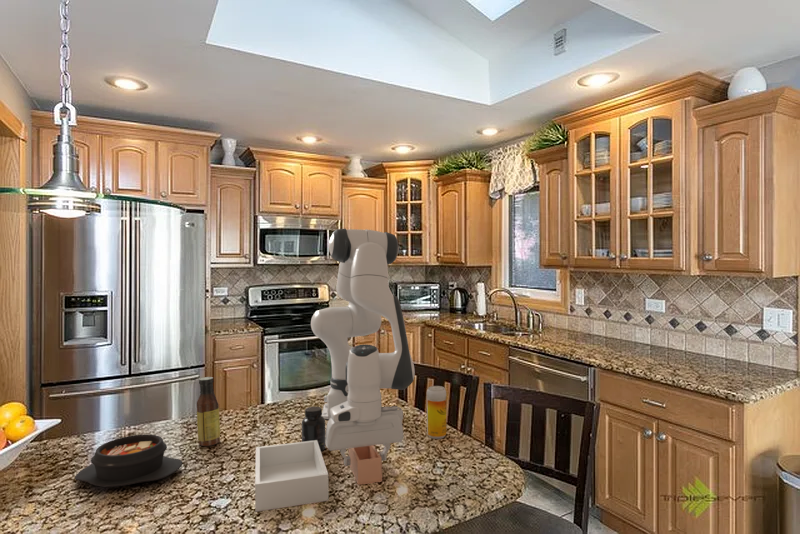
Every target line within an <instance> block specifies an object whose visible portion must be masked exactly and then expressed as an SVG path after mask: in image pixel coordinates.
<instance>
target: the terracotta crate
mask: <svg viewBox="0 0 800 534" xmlns="http://www.w3.org/2000/svg"><path fill="white" fill-rule="evenodd" d="M347 450H348V455H347V456H350V458H351V462H350V463H351V465H349V468H350V470H351V472H352V475H353V477H354V479H355V481H356V483H357V485H358V486H359V485H360V486H361V485H368V484H372V483H380V482H382V481H383V477H382V475H383V471H382V465H383V464H382V463H383V462H382V458H381V456H380V455H379V452H378V450H377V449H376V447H375V445H372V446H365V447H357V448H349V449H347Z"/></svg>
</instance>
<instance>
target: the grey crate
mask: <svg viewBox="0 0 800 534" xmlns="http://www.w3.org/2000/svg"><path fill="white" fill-rule="evenodd" d="M254 474H255V475H254V477H255V479H254V488H255V489H254V501H255V502H254V504H255V506H254V507H255V509H254V510H255V511H254V512H263V511H268V510H269V511H270V510H275V509H281V508H282V509H283V508H289V507H295V506H300V505H308V504H314V503H320V502H321V503H322V502H328V501H329V499H330V497H329V472H328V470H327V467H326V463H325V460H324V458H323V454H322V452H321V451H320V448H319V444H318V441H317V440H314V441H305V442H302V441H298V442H292V443H291V442H290V443H280V444H279V443H278V444H272V445H263V446H256V447H255V473H254Z"/></svg>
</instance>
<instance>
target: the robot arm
mask: <svg viewBox="0 0 800 534" xmlns="http://www.w3.org/2000/svg"><path fill="white" fill-rule="evenodd" d="M399 249H400V248H399V242H398V238H397V237H396V235H395V234H393V233H390V232H386V231H385V232H383V231H378V230H374V229H373V230H372V229H367V228H366V229H355V228H354V229H351V228H350V229H347V228H338V229H337V228H336V229H335V230H334V231H333V232H332V234H331V236H330V238H329V242H328V250H329V254H330V257H331V258H332V259H333V260H334V261H336V262H339V265H338V273H337V279H336V286H335V290H336V293H337V295H338V296H339V297H340V298H341V299H343V300H344V301H347V302H348V304H347V305H346V306H330V307H325V308H321V309H319V310H318V309H317V310H315V312H314V313H313V315H312V316H311V320H310V328H311V331H312V333H313V335H314V336H315V337H317V338H318V339H320V340H321V341H322V342H323V343H324V344H325V345H326V347H327V349H328V351H329V354H330V361H331V362H330V364H331V376H330V382H329V383H330V389H329V391H328V394H327V395H324V396H323V401H324V404H323V408H322V415H321V416H322V417H323V418H324V419H325V420H328V421H327V423H326V427H325V448H327V449H328V450H329V451H330V452H332V451H339V453H340V454H341V456H342V458H343V464H344V466H345V467H346V466H350V465H351V463H350V462H351V458H350V456H348V455H347V454H346V453H347V450H348V449H349V448H357V447H365V446H372V445H374V446H377V445H378V446H379V445H383V446H384V448H383V449H382V451H379V452H378V453H379V455H380V456H381V458H382V461H387V454H388V452H389V451H390V449H391V444H394V443H401V442H402V440H404V437H405V436H404V429H403V428H404V427H403V422H402V421H403V419H404V411H403V409H402V407H399V406H398V405H392V406H382V393H381V389H391V390H400V391H404V390H406V389H407V388H408V387H409V386H410V385H412V383H413V382H414V379H415V374H416V373H415V371H416V370H415V365H414V361H413V358H412V355H411V353H410V347H409V341H408V335H407V329H406V324H405V320H404V319H405V318H404V313H403V310H402V305H401V302H400V300H399V297H398V296H396V295H394V294H393V293H392V291H391V289H390V284H389V268H388V265H391V264H393V263H394V262H396V260H397V258H398V257H397V256H398V254H399ZM382 317H383V318H385V319H386V320H387V321H388V322H389V324H390V327H391V333H392V338H393V345H394V351H393V352H379V348H378V347H376V346H375V345H372V344H359V345H355V346H352V345H349V341H348V340H349V339H348V338H355V337H357V338H358V337H366V336H368V335H372V334H375V333H377V332H378V331H380V328H381V325H382Z"/></svg>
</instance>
